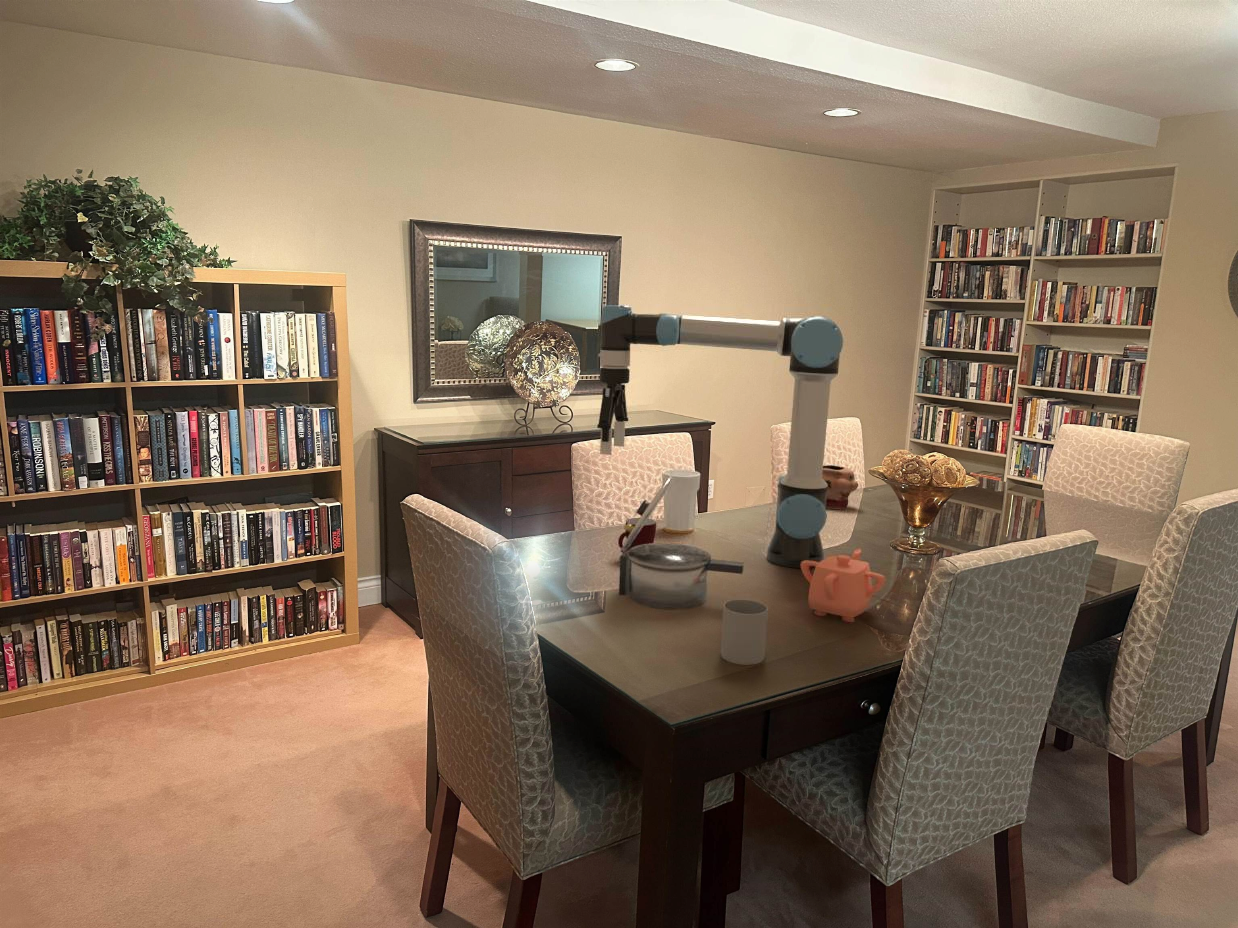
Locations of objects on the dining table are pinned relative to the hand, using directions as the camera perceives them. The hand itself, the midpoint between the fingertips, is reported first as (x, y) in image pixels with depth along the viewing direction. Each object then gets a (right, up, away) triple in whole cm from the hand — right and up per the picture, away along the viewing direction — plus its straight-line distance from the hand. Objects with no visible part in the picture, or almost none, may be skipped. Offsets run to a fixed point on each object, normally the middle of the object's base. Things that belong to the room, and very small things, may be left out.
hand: (612, 450), depth 225 cm
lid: (+9, -15, -24) cm, 30 cm away
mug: (+6, -29, +7) cm, 30 cm away
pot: (+16, -34, -23) cm, 44 cm away
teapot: (+51, -37, -28) cm, 69 cm away
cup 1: (+19, -23, +38) cm, 49 cm away
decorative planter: (+73, -18, +77) cm, 108 cm away
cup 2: (+26, -41, -55) cm, 73 cm away
